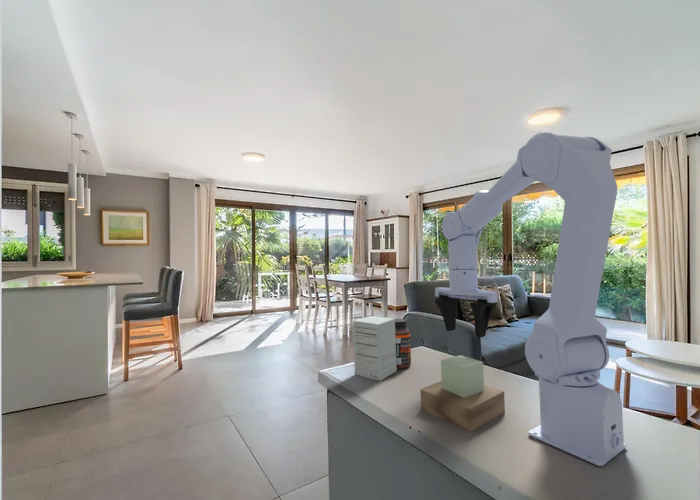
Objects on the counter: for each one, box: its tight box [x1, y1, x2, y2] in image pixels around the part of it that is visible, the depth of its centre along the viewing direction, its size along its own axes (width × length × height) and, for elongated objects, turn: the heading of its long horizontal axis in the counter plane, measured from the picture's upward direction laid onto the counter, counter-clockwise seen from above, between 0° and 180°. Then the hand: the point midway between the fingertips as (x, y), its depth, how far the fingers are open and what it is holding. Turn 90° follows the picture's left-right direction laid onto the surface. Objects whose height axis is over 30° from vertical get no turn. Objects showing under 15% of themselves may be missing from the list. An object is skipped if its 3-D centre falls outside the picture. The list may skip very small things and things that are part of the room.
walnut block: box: [420, 380, 506, 432], centre depth 59 cm, size 10×10×4 cm
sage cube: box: [440, 354, 485, 398], centre depth 59 cm, size 5×5×5 cm
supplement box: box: [352, 315, 397, 382], centre depth 79 cm, size 7×7×13 cm
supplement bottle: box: [394, 318, 412, 369], centre depth 84 cm, size 6×6×11 cm
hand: (465, 333), depth 71 cm, fingers open, 7 cm apart
